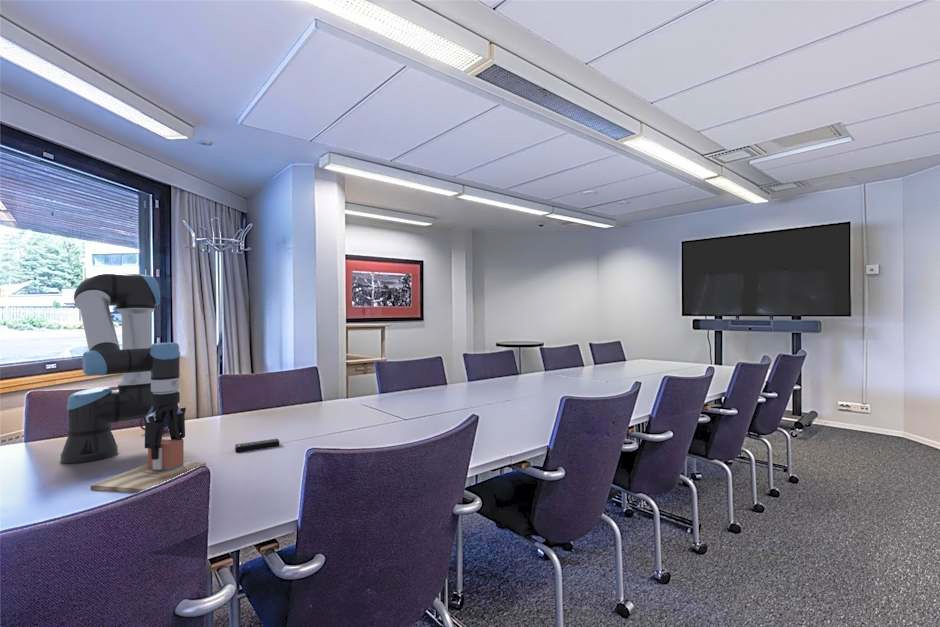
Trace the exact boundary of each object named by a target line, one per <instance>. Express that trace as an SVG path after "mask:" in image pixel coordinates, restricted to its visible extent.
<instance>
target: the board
mask: <svg viewBox="0 0 940 627" xmlns="http://www.w3.org/2000/svg"><path fill="white" fill-rule="evenodd" d="M206 464H207V463H206V462H203V461H202V462H200V461H186V460H185V461H184V460H183V466H181V467H178V468H176V469H173V470H171V471H167V470H150V469H148V463H146V464H143V465H140V466H138V467H136V468H132V469H130V470H127V471H125V472H122V473H119V474H117V475H114V476H112V477H109V478H106V479H103V480H101V481H98V482H95V483H93V484H91V485H90V490H95V491H107V492H120V493H122V492H124V493H137V492H140V491H142V490H145V489H147V488H150V487H152V486H154V485H157V484H160V483H162V482H164V481H167V480H169V479H172V478H174V477H176V476H178V475H180V474H182V473H185V472H187V471H189V470H191V469H193V468H196V467H198V466H202V465H206ZM206 466H207V465H206ZM137 494H138V493H137Z"/></svg>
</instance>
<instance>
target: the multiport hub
mask: <svg viewBox="0 0 940 627" xmlns="http://www.w3.org/2000/svg"><path fill="white" fill-rule="evenodd" d="M279 447H280V439H279V438H273V439H271V438H270V439H265V440H257V441H250V442H245V443H244V442H243V443H238V444H237V443H236V444H235V445H234V452H235V453H244V452H250V451H257V450H264V449H265V450H266V449H272V448H279Z"/></svg>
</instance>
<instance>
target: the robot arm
mask: <svg viewBox="0 0 940 627" xmlns="http://www.w3.org/2000/svg"><path fill="white" fill-rule="evenodd" d="M160 290H161V289H160V286H159V282H158V281H157V279H156V278H155V277H154V276H153V275H148V274H141V273H139V274H138V273H137V274H136V273H116V272H115V273H114V272H113V273H111V272H100V273H95V274H93V275H90V276H88V277H86V278H85V279H83V280H82V281H81V282H80V283H79V285H77V287H76V288H75V291H74V294H73V301H74V305H75V307H76V308H77V309H78V310H80V315H81V320H82V325H83V330H84V334H85V338H86V342H87V347H88V350H87V351H84V352H83V354H82V360H81V363H82V365H81V366H82V372H83V375H85V376H89V377H91V376H92V377H93V376H95V377H97V376H109V375H119V374H122V380H121V381H120V382H119V383H118V384H117V389H114V390H113V389H112V388H111V387H110V386H101V387H99V386H98V387H93V388H88V389H84V390H79V391H77V392H74V393H72V394H70V395H68V398H67V405H66V406H67V407H66V410H67V431H66V432H67V438H66V440H65V444H64V445H63V448H62V451H61V453H60V462H61V463H63V464H80V463H88V462H94V461H99V460H103V459H107V458H109V457H112V456H114V455H116V454H118V452H119V451H118V443H116V440H115V439H116V438H115V437H114V435H113V432H112V424H116V423H122V422H127V421H128V422H129V421H136V420H142V419H144V420H143V421H144V428H145V430H144V449H148V448H149V449H151V459H152V460H153V469H155V470H161V469H162V448H160V444H161V440H162V439H163V435H164V433H163V430H164V426H166V423H167V425H168V432H169V436H170V440H184V438H186V423H185V422H186V418H185V413H186V410H187V408H186V407H181V406H180V407H179V405H178V404H179V403H180V401H181V395H180V394H181V392H180V391H179V390H180V388H181V387H180V375H181V374H180V366H181V365H180V364H181V363H180V355H181V352H180V345H179V343H177V342H156V343H152V342H151V341H152V340H151V339H152V338H151V333H152V332H151V314H152V313H153V312H154V311H155V310H156V309H155V308H156V306H158V305H160V303H161V292H160ZM110 306H115V310H116V311H117V312H118V313H119V314H120V315H121V342H122V344H121V345H122V346H121V347H122V348H121V347H120V344H119V343H120V342H119V340H118V336H117V332H116V327H115V325H114V321H113V317H112V313H111V310H110ZM158 422H159V423H158ZM155 444H156V445H155Z"/></svg>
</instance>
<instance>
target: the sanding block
mask: <svg viewBox="0 0 940 627" xmlns="http://www.w3.org/2000/svg"><path fill="white" fill-rule="evenodd" d="M155 445H156V444H155ZM160 448H162V469H161V470H167V471H171V470H173V469H176V468H178V467H181V466H183V461H184V449H185V448H184V439H183V440H171V439H164V438H162V440H161V444H160ZM147 464H148V469H150V470H155V469H153V460H152V459H151V449H149V448H147Z"/></svg>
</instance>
